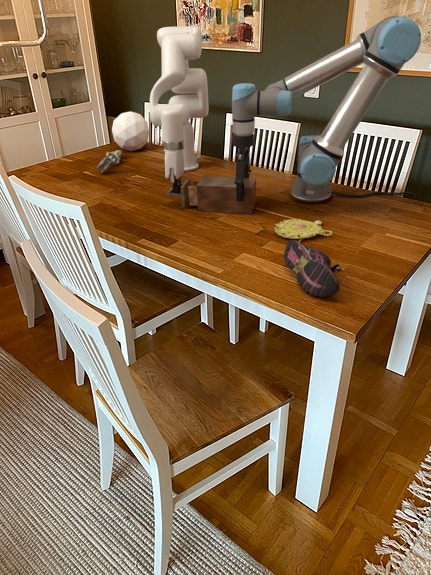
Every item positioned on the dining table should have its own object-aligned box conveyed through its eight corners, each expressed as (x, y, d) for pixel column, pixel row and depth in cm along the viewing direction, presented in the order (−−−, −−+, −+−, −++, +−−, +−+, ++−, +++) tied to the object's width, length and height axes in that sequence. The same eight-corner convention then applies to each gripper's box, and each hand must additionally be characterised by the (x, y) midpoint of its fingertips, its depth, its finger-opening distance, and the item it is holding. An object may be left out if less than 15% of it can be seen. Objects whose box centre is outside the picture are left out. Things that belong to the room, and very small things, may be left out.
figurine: (101, 154, 197) (119, 141, 223) (91, 167, 200) (110, 152, 227) (114, 165, 199) (130, 151, 225) (103, 178, 203) (121, 162, 229)
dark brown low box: (197, 210, 164) (196, 185, 159) (204, 200, 173) (203, 176, 168) (251, 214, 160) (251, 188, 155) (255, 203, 169) (256, 178, 164)
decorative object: (286, 211, 157) (342, 219, 147) (286, 217, 158) (341, 226, 148) (260, 233, 142) (319, 243, 133) (260, 240, 144) (319, 251, 134)
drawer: (167, 205, 167) (165, 185, 162) (174, 197, 174) (172, 177, 170) (231, 209, 162) (231, 189, 158) (235, 200, 169) (235, 180, 165)
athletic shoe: (326, 286, 106) (365, 278, 110) (286, 224, 118) (323, 219, 122) (310, 314, 115) (347, 305, 119) (274, 254, 127) (309, 248, 131)
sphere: (125, 161, 242) (105, 129, 240) (156, 144, 244) (137, 111, 242) (123, 152, 223) (102, 117, 221) (157, 133, 225) (136, 98, 223)
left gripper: (169, 139, 165) (173, 187, 175) (157, 150, 153) (162, 201, 163) (189, 140, 164) (192, 188, 173) (178, 151, 151) (182, 202, 161)
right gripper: (238, 125, 161) (238, 184, 173) (225, 142, 142) (226, 206, 154) (258, 126, 159) (257, 185, 171) (248, 142, 141) (248, 207, 153)
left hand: (177, 194), depth 168 cm, fingers closed
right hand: (242, 195), depth 163 cm, fingers closed on dark brown low box, 10 cm apart
